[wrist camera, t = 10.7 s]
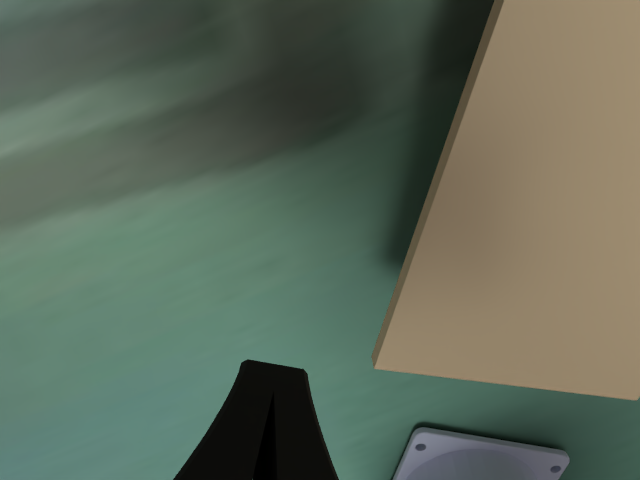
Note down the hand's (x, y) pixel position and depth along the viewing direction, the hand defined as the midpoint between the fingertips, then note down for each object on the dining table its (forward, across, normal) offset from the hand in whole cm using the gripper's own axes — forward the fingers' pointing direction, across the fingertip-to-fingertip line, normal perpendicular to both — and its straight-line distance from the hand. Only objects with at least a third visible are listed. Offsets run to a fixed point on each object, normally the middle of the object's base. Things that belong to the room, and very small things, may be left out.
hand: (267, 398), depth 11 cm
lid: (+5, -9, -4) cm, 11 cm away
